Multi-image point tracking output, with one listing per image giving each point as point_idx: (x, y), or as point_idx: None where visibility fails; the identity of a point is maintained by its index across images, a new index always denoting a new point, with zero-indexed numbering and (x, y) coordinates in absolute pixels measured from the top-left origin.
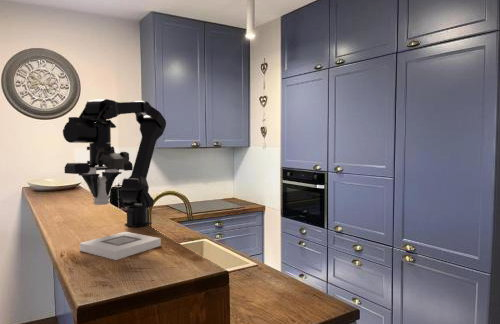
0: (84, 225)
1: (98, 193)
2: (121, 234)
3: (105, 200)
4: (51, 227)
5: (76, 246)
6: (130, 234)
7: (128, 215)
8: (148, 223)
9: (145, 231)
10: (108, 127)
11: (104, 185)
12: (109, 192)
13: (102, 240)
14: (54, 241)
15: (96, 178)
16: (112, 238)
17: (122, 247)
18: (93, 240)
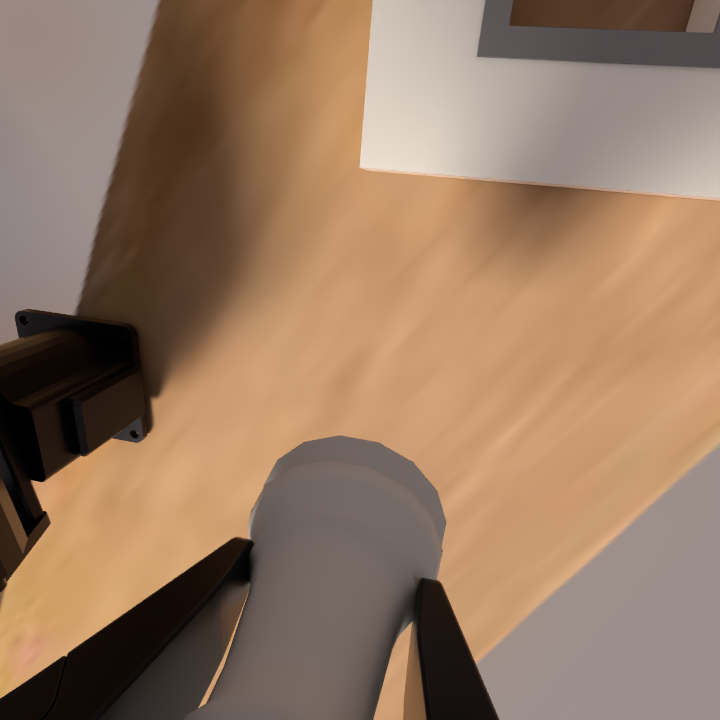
0: None
1: (391, 616)
2: (448, 115)
3: (351, 465)
4: (375, 715)
5: (663, 322)
6: (416, 36)
7: (101, 426)
8: (45, 313)
9: (164, 201)
10: None
11: (261, 702)
12: (203, 560)
13: (685, 88)
14: (600, 524)
15: None
16: (607, 50)
17: None
18: (706, 165)
